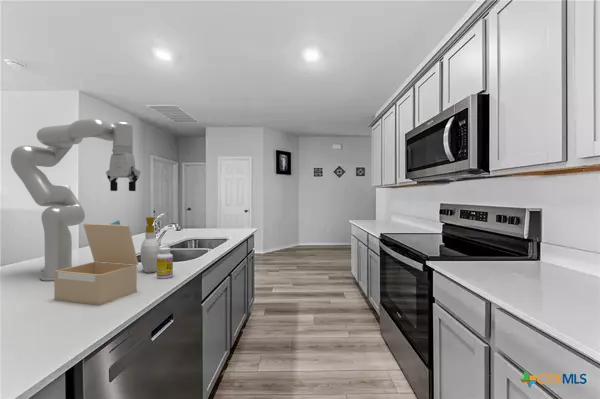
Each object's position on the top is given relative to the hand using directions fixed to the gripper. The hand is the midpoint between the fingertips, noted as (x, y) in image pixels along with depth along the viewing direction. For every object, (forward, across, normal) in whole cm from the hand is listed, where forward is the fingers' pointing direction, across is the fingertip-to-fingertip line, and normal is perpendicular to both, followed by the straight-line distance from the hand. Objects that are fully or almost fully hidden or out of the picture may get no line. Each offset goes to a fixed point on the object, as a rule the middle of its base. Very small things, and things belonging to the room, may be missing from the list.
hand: (123, 190), depth 139 cm
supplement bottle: (+38, +15, +8) cm, 42 cm away
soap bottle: (+38, +1, +16) cm, 42 cm away
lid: (+21, +9, -15) cm, 27 cm away
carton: (+38, +9, -21) cm, 45 cm away
